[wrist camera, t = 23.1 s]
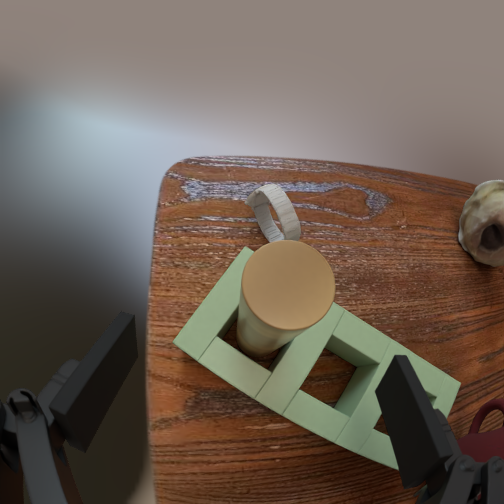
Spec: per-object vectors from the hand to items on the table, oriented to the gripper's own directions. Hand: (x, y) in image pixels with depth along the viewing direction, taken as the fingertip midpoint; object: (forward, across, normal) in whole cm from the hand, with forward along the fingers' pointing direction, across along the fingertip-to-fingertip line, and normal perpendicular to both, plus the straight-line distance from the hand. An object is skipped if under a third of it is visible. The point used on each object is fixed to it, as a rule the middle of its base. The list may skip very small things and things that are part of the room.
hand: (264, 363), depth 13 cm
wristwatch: (+14, 0, +2) cm, 14 cm away
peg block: (+6, +6, -6) cm, 10 cm away
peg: (+7, 0, -4) cm, 8 cm away
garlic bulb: (+16, +25, +5) cm, 30 cm away
